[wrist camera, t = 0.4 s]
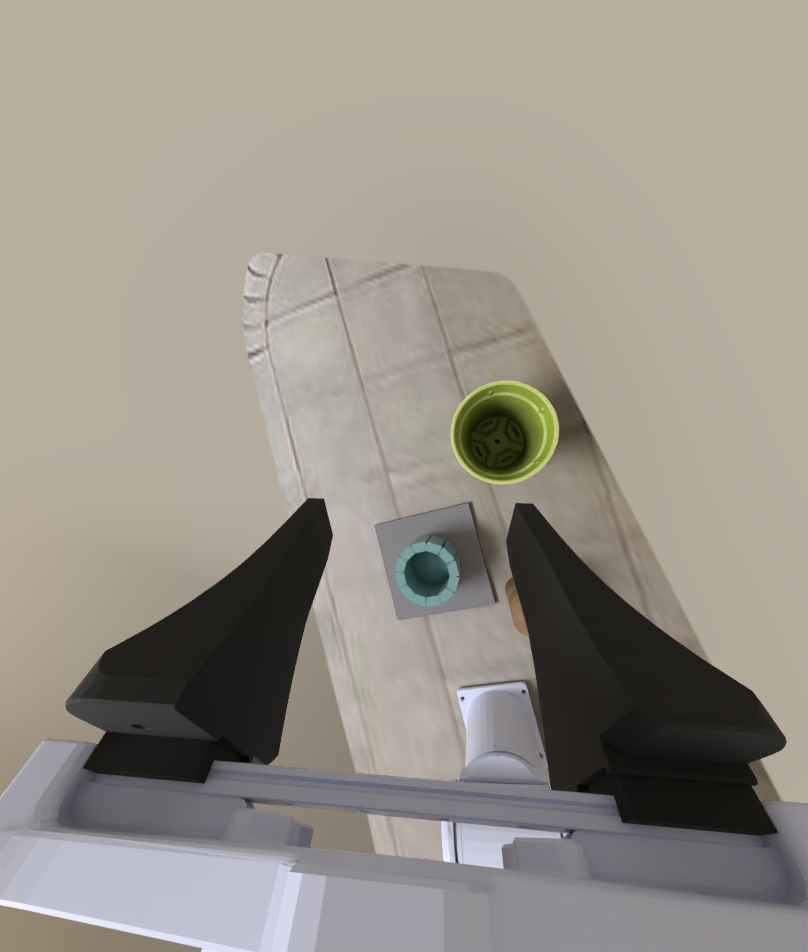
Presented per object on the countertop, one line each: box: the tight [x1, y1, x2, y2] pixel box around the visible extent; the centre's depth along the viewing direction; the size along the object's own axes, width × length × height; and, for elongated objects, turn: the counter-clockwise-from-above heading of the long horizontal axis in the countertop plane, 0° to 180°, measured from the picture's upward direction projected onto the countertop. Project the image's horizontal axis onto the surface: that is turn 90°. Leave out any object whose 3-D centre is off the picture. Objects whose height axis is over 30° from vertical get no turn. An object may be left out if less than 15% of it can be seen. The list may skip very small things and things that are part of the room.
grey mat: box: [375, 503, 495, 620], centre depth 38 cm, size 12×12×1 cm
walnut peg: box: [505, 578, 529, 636], centre depth 32 cm, size 3×3×8 cm
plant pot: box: [451, 380, 559, 484], centre depth 33 cm, size 9×9×9 cm
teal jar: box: [395, 534, 462, 607], centre depth 36 cm, size 7×7×5 cm
